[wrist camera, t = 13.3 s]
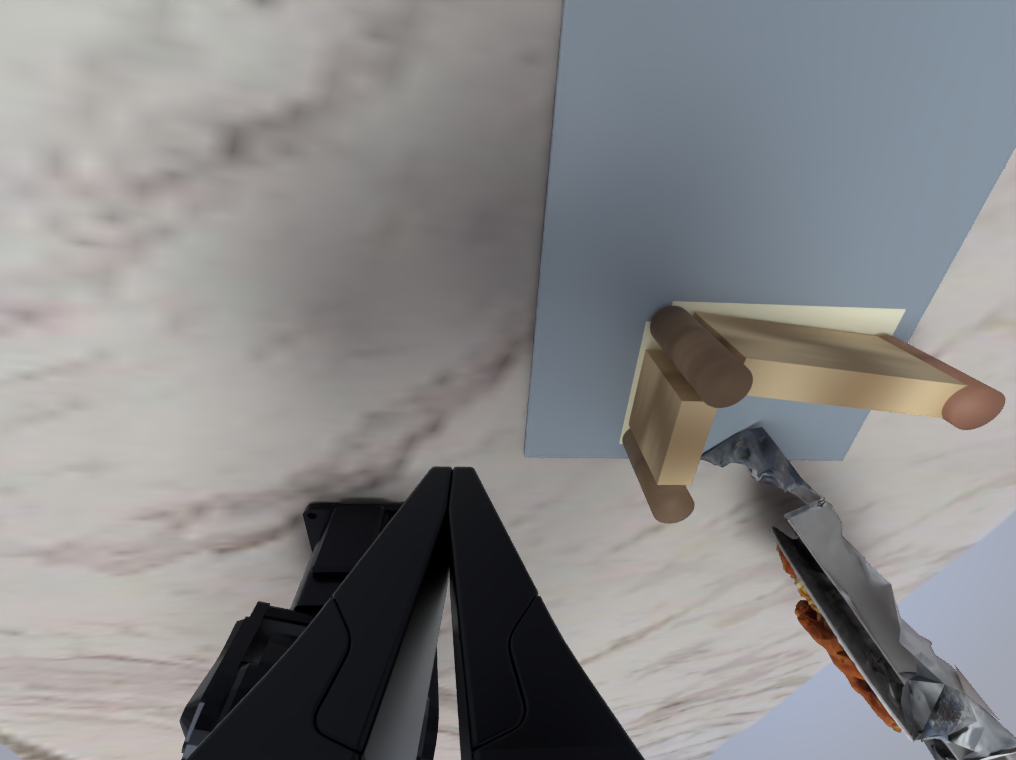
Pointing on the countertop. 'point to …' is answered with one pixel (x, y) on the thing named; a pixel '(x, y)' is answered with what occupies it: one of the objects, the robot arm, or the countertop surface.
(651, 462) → the fixed fence rail
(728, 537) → the countertop surface
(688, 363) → the rail
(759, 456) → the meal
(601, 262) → the board
